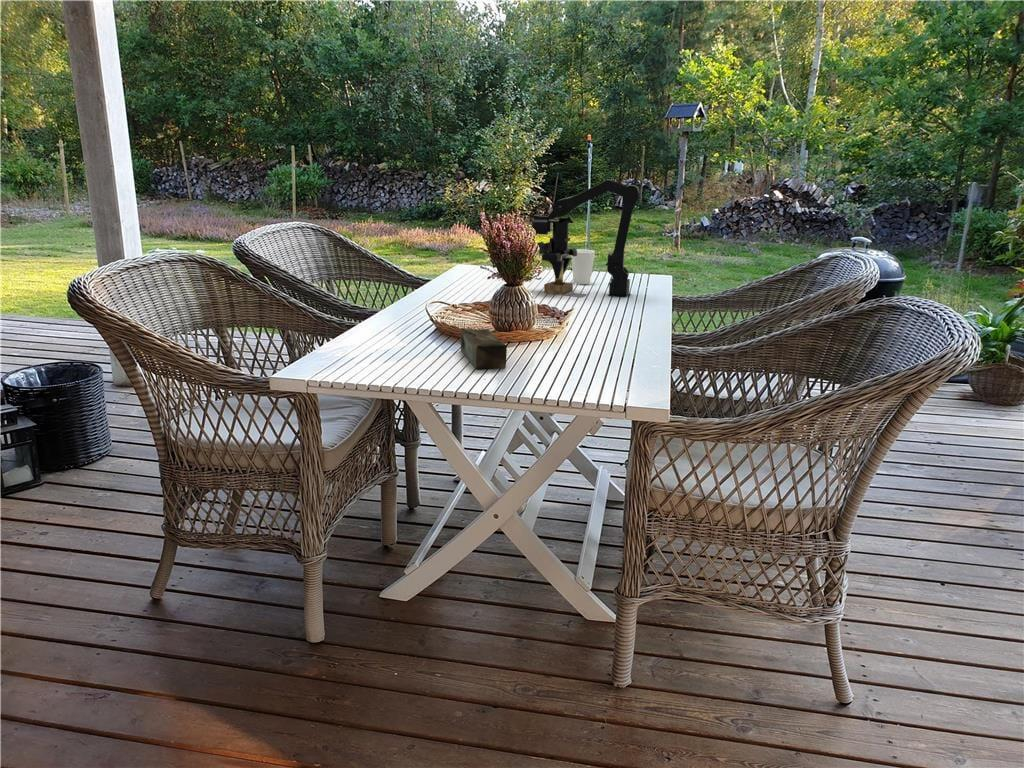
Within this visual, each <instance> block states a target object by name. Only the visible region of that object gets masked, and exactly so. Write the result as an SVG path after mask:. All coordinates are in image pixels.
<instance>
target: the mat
mask: <svg viewBox="0 0 1024 768" xmlns="http://www.w3.org/2000/svg"><path fill="white" fill-rule="evenodd" d="M589 295H590V294H589V293H580V292H579V293H578V292H571V293H568V294H566V295H563V296H564V297H571V298H578V299H579V298H580V299H581V298H584V297H587V296H589Z"/></svg>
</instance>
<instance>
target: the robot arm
mask: <svg viewBox="0 0 1024 768" xmlns="http://www.w3.org/2000/svg"><path fill="white" fill-rule="evenodd" d="M607 192H610V193H612V194H614V195H617V196H619V197H622V200H621V201H622V202H621V207H622V208H621V209H622V210H621V215H620V220H619V224H618V229H617V233H616V240H615V244H614V249H613V251H612V253H611V252H608V254H607V261H606V264H605V266H606V267H607V272H608V274H610V276H611V277H612V278H610V282H608V283H609V286H608V297H616V298H617V297H618V298H627V297H630V296H631V294H632V293H630V284H631V283H630V282H631V278H629V275H630V271H629V270H628V269H627V268H626V267H625V247H626V243H627V237H628V235H629V227H630V223H631V220H632V216H633V211H634V208H635V206H636V204H637V201H638V200H639V197H640V189H639V187H637V185H634V184H628V185H627V184H624V183H620V182H617V181H614V180H612V179H610V178H607V179H605V180H604V181H602V182H601V183H598V184H596V185H594V186H593V187H590V188H588V189H585V190H584V191H581V192H579V193H578V194H575V195H573V196H568V197H564V198H561V199H558V200H557V201H555V202H554V203H553V205H552V210H551V211H550V213H548V215H539V214H538V215H537V214H534V215H533V217H532V224H531V228H532V227H533V228H534V229H535V230H536V234H535V235H546V236H548V235H549V233H551V232H552V237H550V238H549V242H544V241H539V242H537V243H538V245H539V247H540V251H538V254H539V255H541V261H545V262H548V263H550V264H551V266H552V269H553V273H554V279H555V278H557V279H558V278H559V276H560V273H561V270H562V267H563V276H565V275H564V274H565V272H566V270H567V269H568V268H569V265H570V263H571V262H572V258H571V257H570V256H571V255H572V256H577V248H575V247H569V242H570V241H571V237H569V225H570V224H573V223H574V222H575V220H574V219H573V218H572V216H571V215H568V216H567V217H564V216H566V215H567V214H569V213H571V212H572V211H573V210H575V208H577V207H578V206H580V205H582V204H584V203H586V202H588V201H590V200H592V199H595V198H596V197H599V196H601V195H603V194H605V193H607ZM557 217H558V219H557V220H556V218H557ZM554 219H555V220H554ZM563 264H564V265H563Z"/></svg>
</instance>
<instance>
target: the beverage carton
mask: <svg viewBox="0 0 1024 768" xmlns="http://www.w3.org/2000/svg"><path fill="white" fill-rule="evenodd" d="M507 350H508V349H507V345H506V344H505V343H504V342H503V341H501V339H499V338H498V337H497V336H496V335H495V334H494V333H492V332H491V331H490V330H489V329H488V328H487V329H486V328H484V329H482V328H480V329H478V328H477V329H473V328H470V327H469V328H467V329H463V330H461V331H460V352H462V354H463V355H464V356H465V358H466V359H467V360H468V362H470V364H471V365H472V366H473V367H474V369H476V370H479V371H480V370H482V371H483V370H497V369H500V370H501V369H507V368H506V367H507V355H508V354H507V353H508V351H507Z"/></svg>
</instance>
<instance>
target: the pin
mask: <svg viewBox="0 0 1024 768" xmlns="http://www.w3.org/2000/svg"><path fill="white" fill-rule="evenodd" d="M563 265H564V264H563ZM554 281H555V285H563V282H564V275H563V267H562V270H561V273H560V276H559V278H558V279H557V278H555V277H554Z"/></svg>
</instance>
